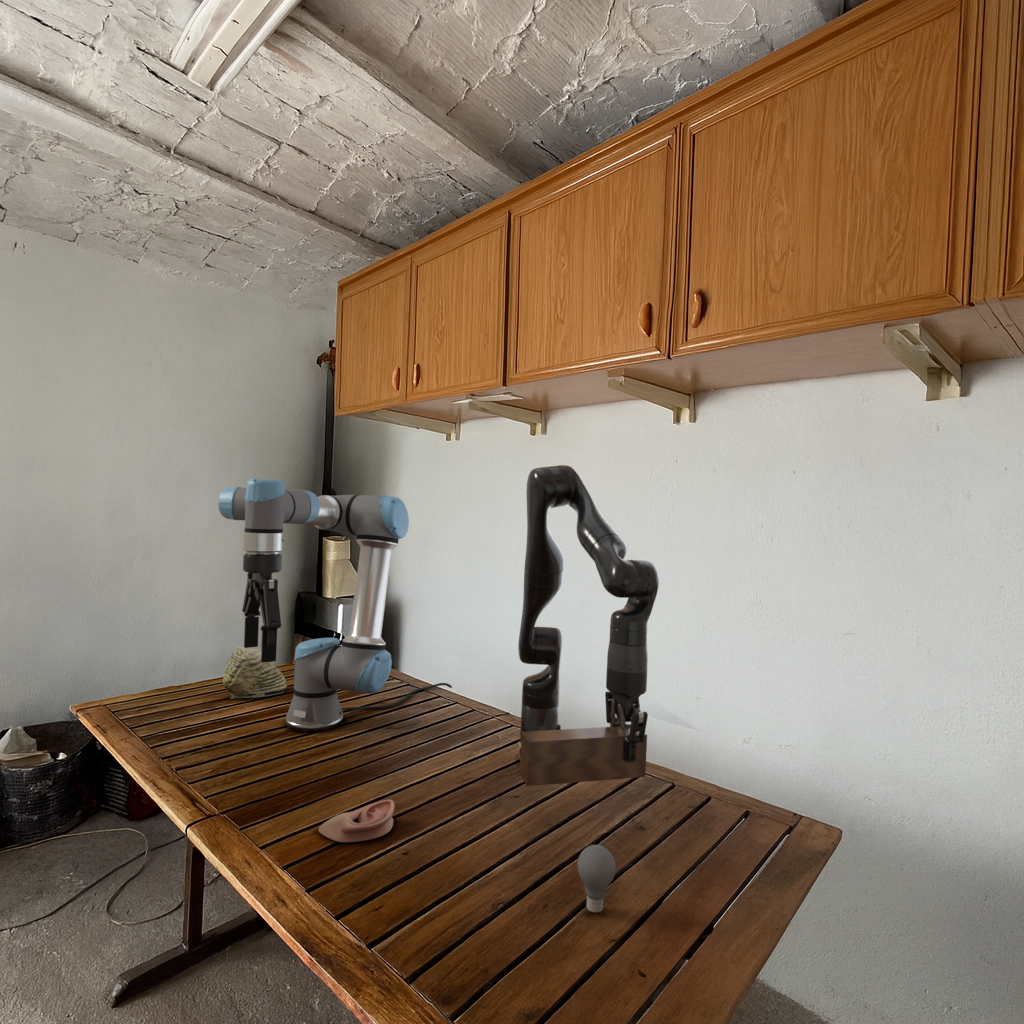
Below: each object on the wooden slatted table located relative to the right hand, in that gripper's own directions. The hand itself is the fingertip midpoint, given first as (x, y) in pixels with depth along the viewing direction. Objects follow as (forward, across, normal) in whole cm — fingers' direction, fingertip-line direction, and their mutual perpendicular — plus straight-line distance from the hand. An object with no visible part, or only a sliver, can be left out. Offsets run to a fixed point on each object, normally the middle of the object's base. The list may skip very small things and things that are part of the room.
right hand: (623, 755), depth 119 cm
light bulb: (+17, -17, +12) cm, 27 cm away
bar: (+3, 0, +8) cm, 9 cm away
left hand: (-13, +32, +69) cm, 77 cm away
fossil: (+17, +101, +78) cm, 129 cm away
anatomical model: (+17, +15, +48) cm, 53 cm away
